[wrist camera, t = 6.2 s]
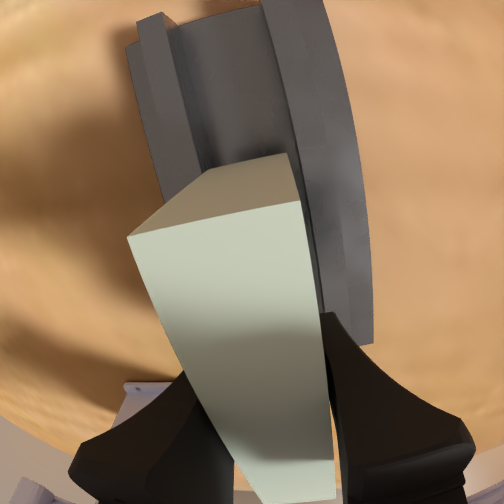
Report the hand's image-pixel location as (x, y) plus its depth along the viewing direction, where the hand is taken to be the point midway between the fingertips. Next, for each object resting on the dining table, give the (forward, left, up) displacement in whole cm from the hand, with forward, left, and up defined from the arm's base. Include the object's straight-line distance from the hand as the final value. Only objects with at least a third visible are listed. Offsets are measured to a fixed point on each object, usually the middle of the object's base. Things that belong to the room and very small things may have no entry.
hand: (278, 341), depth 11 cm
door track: (0, +3, -7) cm, 8 cm away
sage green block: (0, 0, -3) cm, 3 cm away
